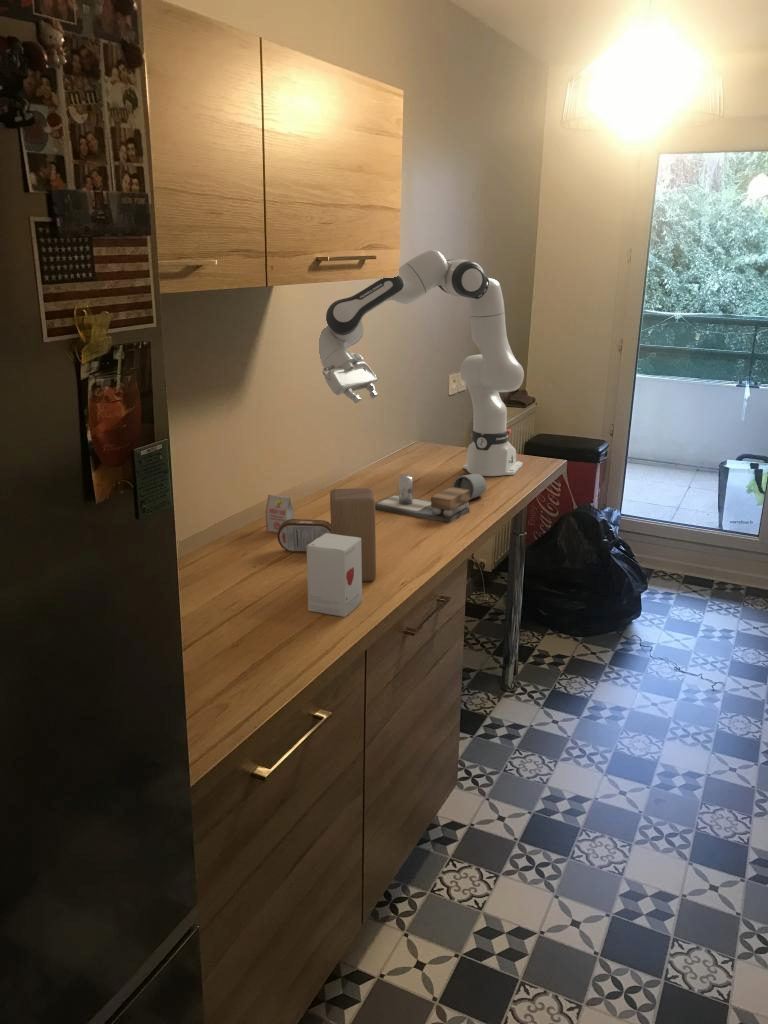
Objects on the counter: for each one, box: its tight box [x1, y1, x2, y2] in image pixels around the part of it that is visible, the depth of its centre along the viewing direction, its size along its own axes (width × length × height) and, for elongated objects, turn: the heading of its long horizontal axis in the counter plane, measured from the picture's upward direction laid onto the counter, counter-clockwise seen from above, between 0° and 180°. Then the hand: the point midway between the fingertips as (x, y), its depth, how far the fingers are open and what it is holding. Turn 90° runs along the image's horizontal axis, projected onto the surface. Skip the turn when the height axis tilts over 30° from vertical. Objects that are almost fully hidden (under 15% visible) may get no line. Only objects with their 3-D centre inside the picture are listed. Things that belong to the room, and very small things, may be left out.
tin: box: [276, 518, 331, 554], centre depth 211 cm, size 15×3×8 cm, turn 84°
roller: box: [398, 474, 414, 505], centre depth 246 cm, size 4×4×8 cm
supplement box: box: [306, 533, 363, 618], centre depth 177 cm, size 9×9×15 cm
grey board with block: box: [375, 486, 471, 523], centre depth 244 cm, size 12×26×7 cm, turn 58°
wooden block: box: [329, 487, 377, 582], centre depth 194 cm, size 10×10×20 cm
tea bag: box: [265, 494, 295, 534], centre depth 226 cm, size 4×7×10 cm, turn 62°
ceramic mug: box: [452, 473, 487, 501], centre depth 256 cm, size 11×8×8 cm
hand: (367, 399), depth 254 cm, fingers open, 8 cm apart
